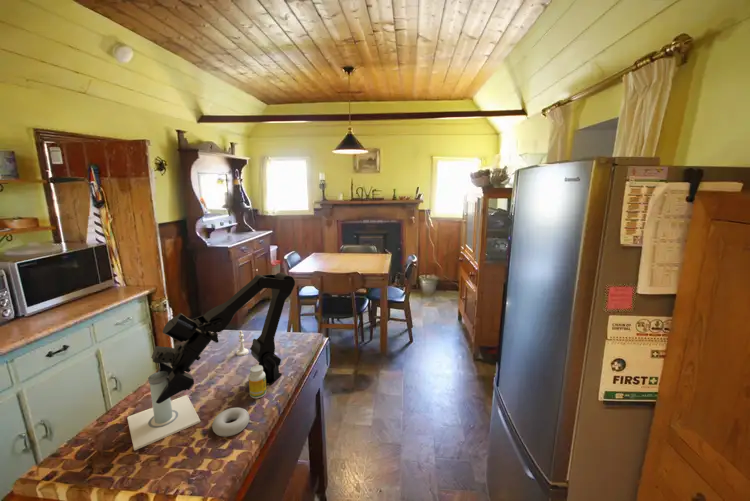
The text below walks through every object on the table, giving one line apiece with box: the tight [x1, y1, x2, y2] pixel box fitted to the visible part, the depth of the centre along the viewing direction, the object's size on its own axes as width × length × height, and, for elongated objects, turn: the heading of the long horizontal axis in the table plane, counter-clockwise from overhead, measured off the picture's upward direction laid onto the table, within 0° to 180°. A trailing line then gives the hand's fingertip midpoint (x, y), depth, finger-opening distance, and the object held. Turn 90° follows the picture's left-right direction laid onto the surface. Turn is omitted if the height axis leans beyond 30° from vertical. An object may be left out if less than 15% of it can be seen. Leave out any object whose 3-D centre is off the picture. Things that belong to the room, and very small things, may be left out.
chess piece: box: [236, 330, 250, 357], centre depth 135 cm, size 5×5×10 cm
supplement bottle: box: [248, 364, 267, 399], centre depth 108 cm, size 5×5×10 cm
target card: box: [127, 394, 201, 451], centre depth 96 cm, size 16×16×1 cm
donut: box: [211, 407, 250, 438], centre depth 94 cm, size 10×4×10 cm
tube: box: [147, 371, 173, 424], centre depth 95 cm, size 5×5×14 cm
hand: (154, 395), depth 94 cm, fingers open, 9 cm apart
